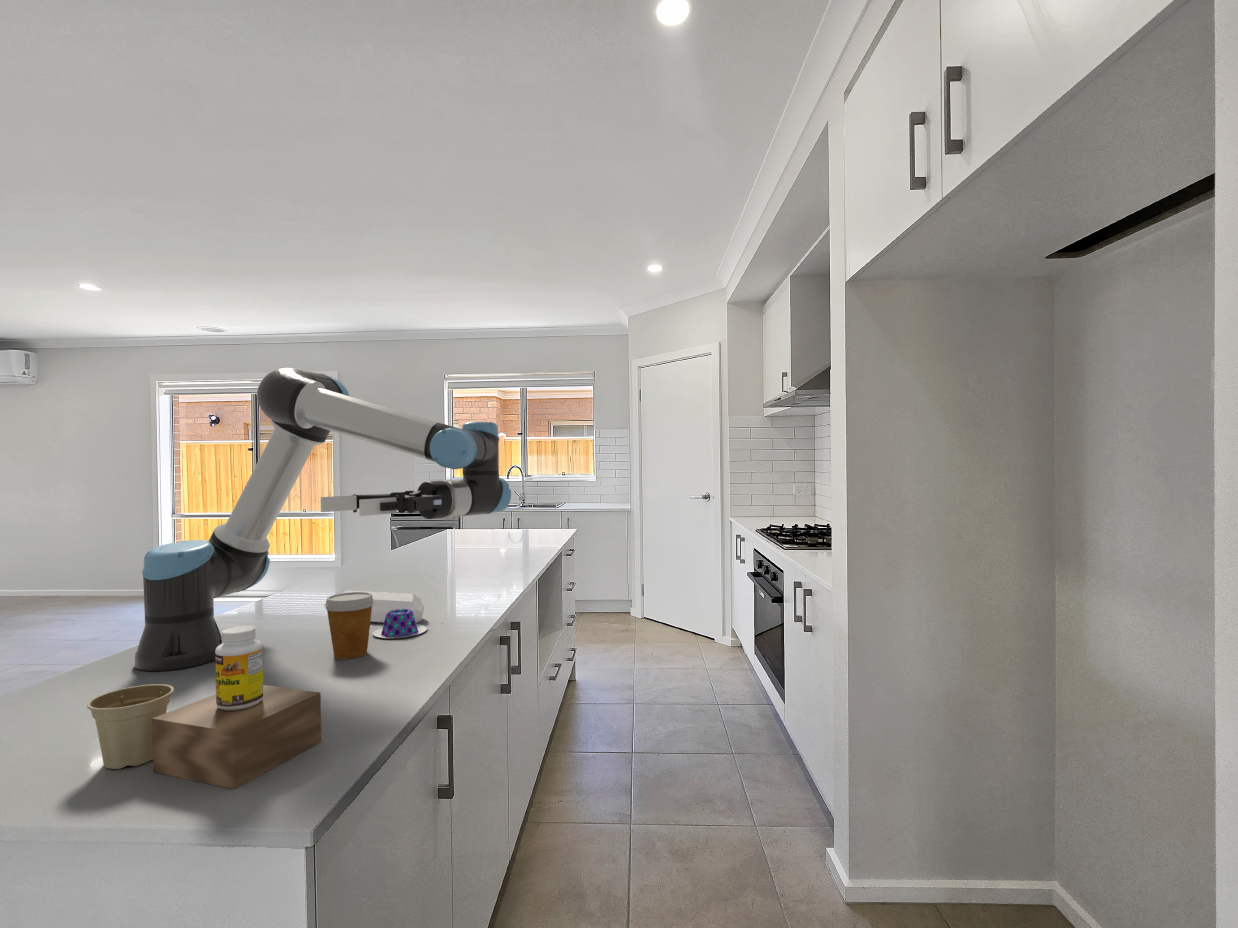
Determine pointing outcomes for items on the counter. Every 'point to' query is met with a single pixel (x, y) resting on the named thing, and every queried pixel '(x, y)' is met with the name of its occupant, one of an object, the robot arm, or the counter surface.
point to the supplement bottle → (239, 669)
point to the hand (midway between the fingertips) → (340, 506)
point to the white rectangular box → (393, 604)
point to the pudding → (399, 625)
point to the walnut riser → (235, 737)
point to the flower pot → (128, 722)
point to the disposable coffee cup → (349, 623)
